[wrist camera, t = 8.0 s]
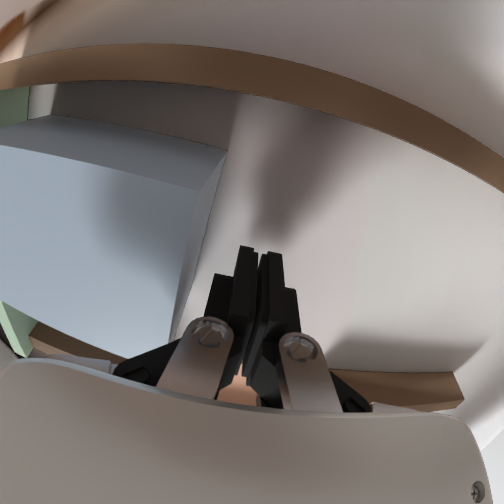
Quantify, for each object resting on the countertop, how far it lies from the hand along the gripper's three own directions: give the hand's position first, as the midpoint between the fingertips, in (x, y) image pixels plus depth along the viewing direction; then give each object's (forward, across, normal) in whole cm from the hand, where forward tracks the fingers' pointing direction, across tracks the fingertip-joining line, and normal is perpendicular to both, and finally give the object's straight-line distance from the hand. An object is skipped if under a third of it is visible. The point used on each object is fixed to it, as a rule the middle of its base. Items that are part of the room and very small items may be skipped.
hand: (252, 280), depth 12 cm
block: (+2, +7, -1) cm, 7 cm away
